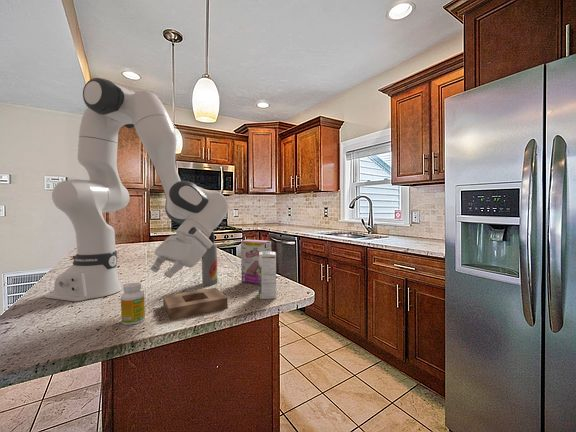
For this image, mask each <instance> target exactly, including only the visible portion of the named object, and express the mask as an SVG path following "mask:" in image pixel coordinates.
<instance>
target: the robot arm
mask: <svg viewBox="0 0 576 432" xmlns="http://www.w3.org/2000/svg"><path fill="white" fill-rule="evenodd" d="M82 89H83V90H82V98H83V103H84V104H85V105H86V108H85V110H84V111H83V113H82V116H81V117H82V118H81V120H80V124H79V131H78V133H79V134H78V145H77V160H78V163H79V164H80V165H81V166H82V167H84V168H85V170H86V171H87V175H88V176H89V177H88V178H89V179H68V180H62V181H60V182H58V183H57V184H55V186H54V187H53V190H52V192H51V198H52V202H53V204H54V205H55V206H56V208H57V209H59V210H60V211H61V212H63V214H65V215H66V217H67V218H68V219H69V220H70V222H71V224H72V226H73V228H74V232H75V238H76V240H75V241H76V254H75V255H72V256H70V259H69V261H73V262H72V265H71V266H69V267H68V268H67V269H66V270H65V271H63V272H62V273H61V274H60V275H59V274H58V276H57V277H56V278H55V280H54V285H53V287H54V288H53V289H54V290H51V291H49V292H47V293H46V294H45V296H44V298H45V299H53V300H54V299H55V300H62V301H69V302H70V301H71V302H81V301H85V300H89V299H96V298H102V297H106V296H107V297H108V296H110V295H114V294H115V293H119V292H120V291H122V289H123V287H122V285H121V281H120V277H119V273H118V265H117V264H118V251H117V250H116V233H115V232H116V231H115V229H114V227H113V226H111V225H110V224H108V223H107V222H106V220H105V218H104V216H103V213H112V212H117V211H121V210H123V209H125V208H126V207H127V206H128V204H129V202H130V193H129V191H128V189H127V187H125V186H124V184H123V183H122V181H121V178H120V174H119V171H118V163H117V162H118V146H119V145H118V143H119V131H120V129H121V128H122V127H126V128H127V129H133V128H135V132H136V134H137V136H138V138H139V140H140V142H141V144H142V147H144V149H145V151H146V153H147V155H148V157H149V159H150V161H151V163H152V164H153V167H154V169H155V171H156V173H157V177H158V179H159V182H160V185H161V187H162V189H163V192H164V196H165V205H164V207H165V208H164V209H165V214H166V216H167V217H168V219H170V220H171V221H172V222H175V223H177V224H180V225H179V226H178V228H177V229H175V235H169V236H168V237H167V238H166V239H164V241H163V240H162V241H163V242H161V243H160V244H159V245H158V246H157V247H156V249H155V250H154V252H153V253H154V255H156V258H155V261H154V262H153V264H152V266H151V267H150V269H149V270H150V271H152V272H154V273H158V272H159V270H160V269H161V266H162V265H163V263H165V262H170V263H173V265H172V266H171V267H170V268H167V269H166V271H164V276H165V277H167V278H169V279H172V278H173V276H175V274H177V272H179V271H181V270H182V269H183V267H187V268H190V269H191V268H193V267H194V266H196V265H197V264H198V263H199V262H200V260H202V256H203V255H204V254H205V252H206V251H207V249H209V248H210V247H211V246H212V245H213V243H212V242H211V241H210V240H209V239H208V238H209V236H210V235H211V232H214V230H215V229H216V228H217V227H219V226H220V224H221V223H222V221H223V220H224V218H225V217H226V215H227V214H228V211H229V208H230V205H229V201H228V200H227V199H228V198H226V197H225V195H223V193H221V192H220V191H217V190H210V189H205V188H203V187H200V186H198V185H197V184H196V183H194V182H191V181H188V180H181V177H180V175H179V172H178V169H177V165H176V154H177V153H176V151H177V141H178V140H177V135H176V134H177V133H176V130H175V126H174V124H173V121H172V119H171V117H170V115H169V112H168V111H167V109H166V107H165V106H164V104H163V103H162V100H160V98H159V97H158V96H157V95H156V94H155V93H154V92H151V91H149V90H139V91H136V92H135V91H133V90H131V89H130V88H127V87H124V86H123V85H122V86H121V85H120V84H117V83H115V82H112V81H111V80H108V79H105V78H100V77H93V78H91V79H89V80H88V81H87V82H86V84H85V85H84V87H83V88H82Z"/></svg>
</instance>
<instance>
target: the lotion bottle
mask: <svg viewBox="0 0 576 432" xmlns="http://www.w3.org/2000/svg"><path fill="white" fill-rule="evenodd" d="M208 239H209V240H210V241H211V242H212V243H213V245H212V246H211V247H210V248H209V249H207V251H206V252H205V254H204V255H203V256H202V258H201V280H202V285H204V286H212V285H216V284H217V283H218V251H217V250H218V245H217V244H216V243H215V233H214V231H212V232H211V235H210V236H209V238H208Z"/></svg>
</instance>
